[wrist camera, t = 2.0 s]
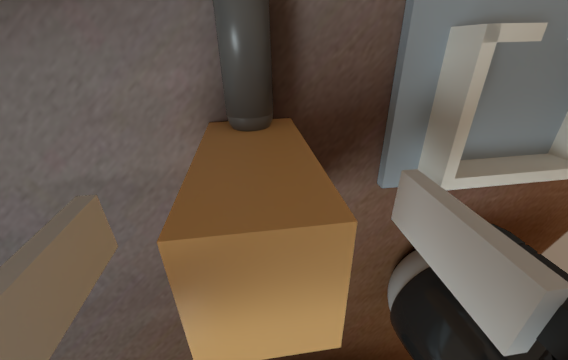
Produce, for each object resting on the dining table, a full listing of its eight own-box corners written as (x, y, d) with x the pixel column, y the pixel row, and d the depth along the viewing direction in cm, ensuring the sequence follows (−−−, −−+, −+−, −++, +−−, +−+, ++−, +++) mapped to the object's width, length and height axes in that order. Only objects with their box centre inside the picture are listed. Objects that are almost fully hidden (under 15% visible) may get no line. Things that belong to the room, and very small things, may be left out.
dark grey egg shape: (491, 216, 23) (839, 457, 10) (456, 298, 28) (656, 535, 14) (381, 227, 22) (602, 519, 8) (364, 310, 26) (487, 582, 13)
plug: (291, 193, 19) (340, 347, 9) (221, 199, 19) (196, 370, 9) (288, -103, 12) (484, -747, 2) (174, -108, 11) (-225, -986, 2)
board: (563, 167, 21) (613, 186, 19) (377, 183, 20) (400, 207, 17) (746, -190, 13) (895, -260, 10) (441, -220, 11) (513, -315, 8)
